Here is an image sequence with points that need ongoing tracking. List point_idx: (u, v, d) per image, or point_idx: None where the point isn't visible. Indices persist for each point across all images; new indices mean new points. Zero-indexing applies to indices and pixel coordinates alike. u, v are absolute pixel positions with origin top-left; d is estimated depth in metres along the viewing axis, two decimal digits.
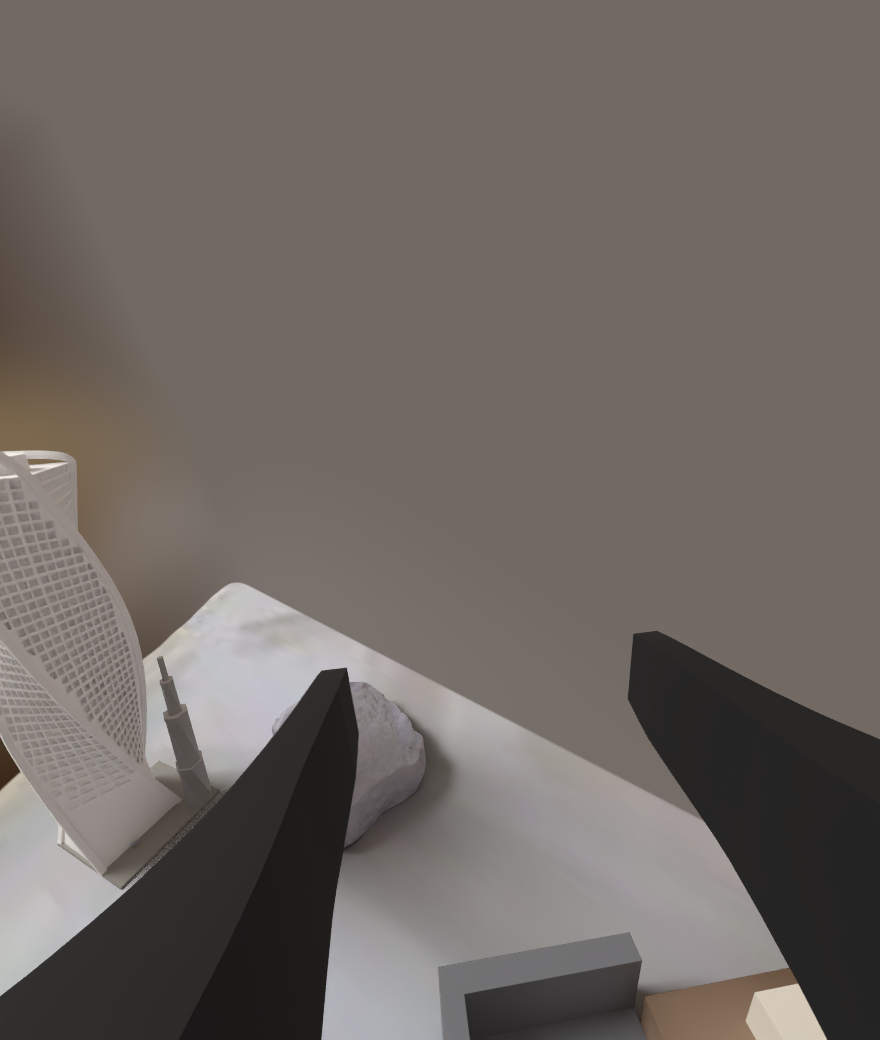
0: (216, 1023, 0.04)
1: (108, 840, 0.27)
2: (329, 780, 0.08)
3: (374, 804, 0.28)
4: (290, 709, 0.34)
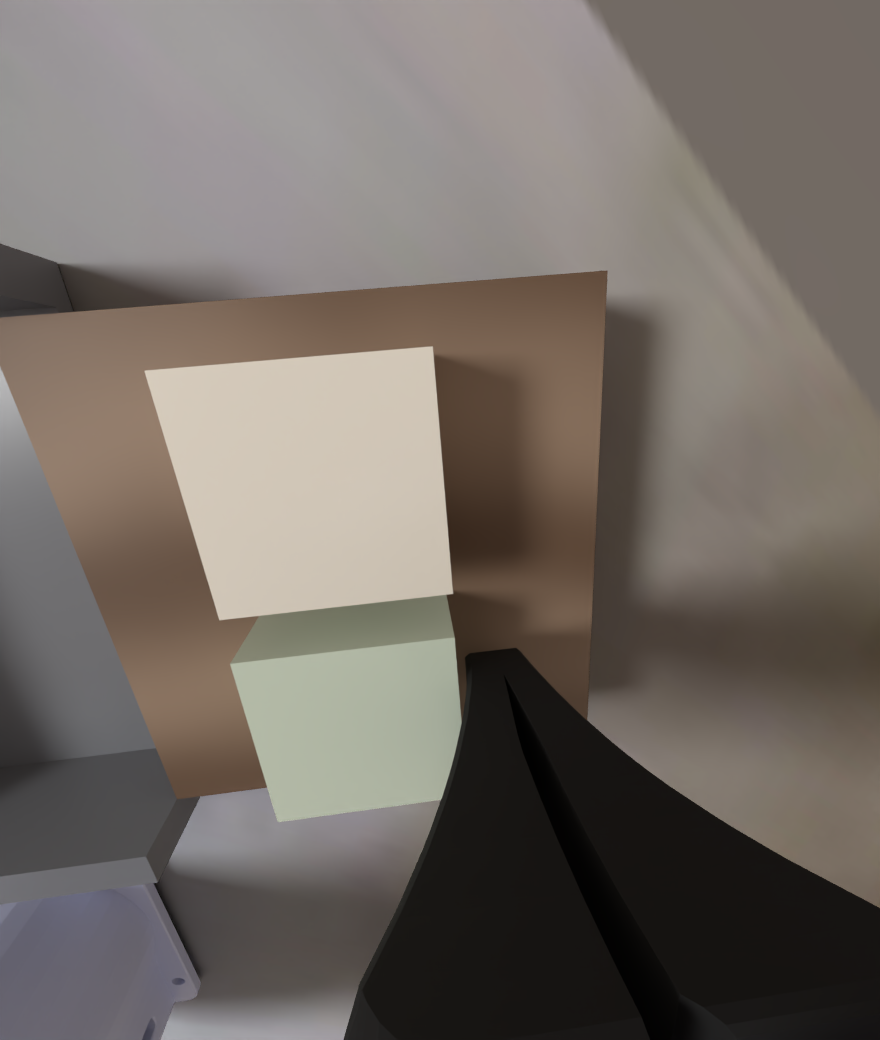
0: None
1: None
2: None
3: None
4: None
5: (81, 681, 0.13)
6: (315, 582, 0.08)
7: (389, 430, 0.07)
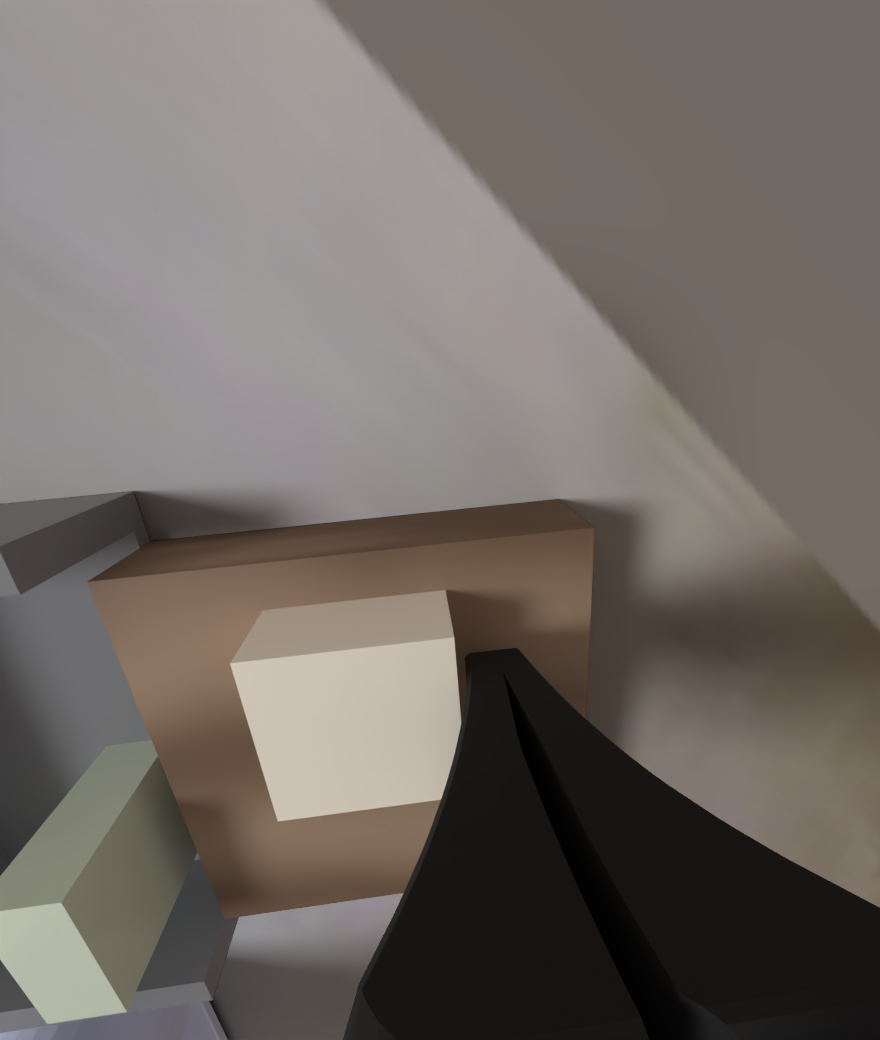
0: None
1: None
2: None
3: None
4: None
5: None
6: (356, 793, 0.10)
7: (418, 691, 0.09)
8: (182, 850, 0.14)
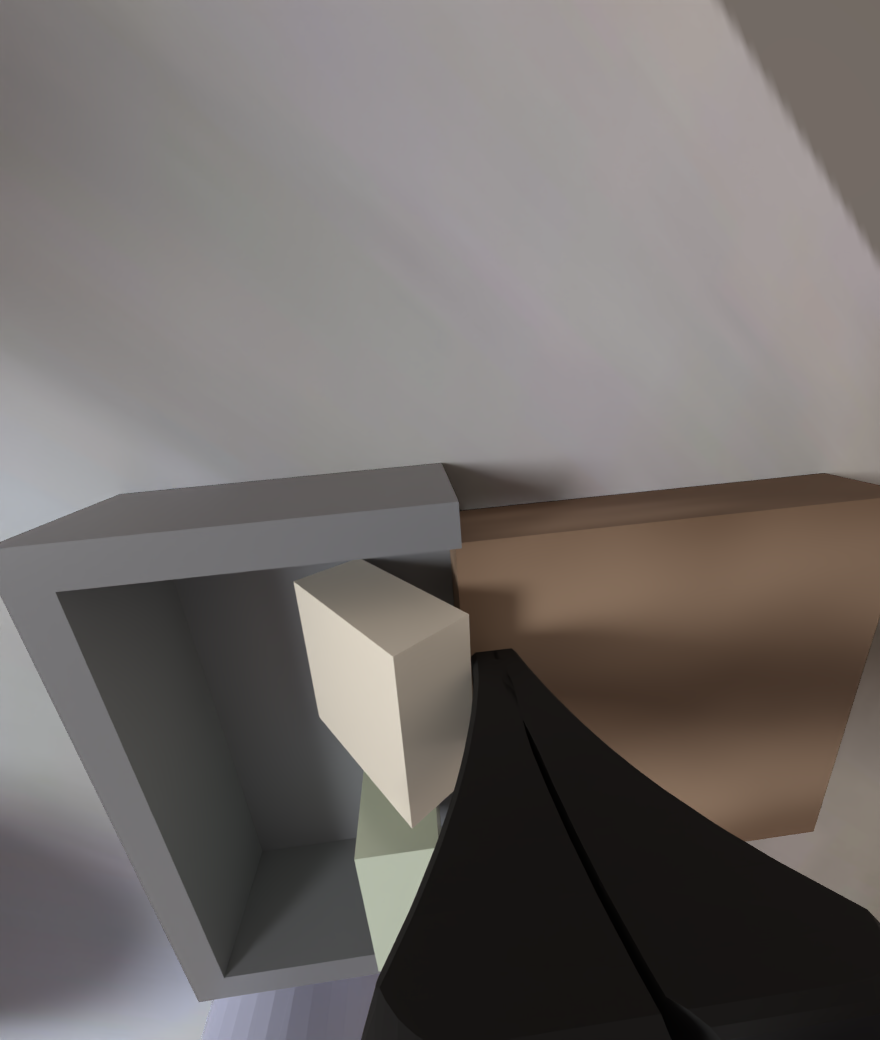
0: None
1: None
2: None
3: None
4: None
5: None
6: (349, 739, 0.11)
7: (374, 689, 0.09)
8: (439, 814, 0.14)
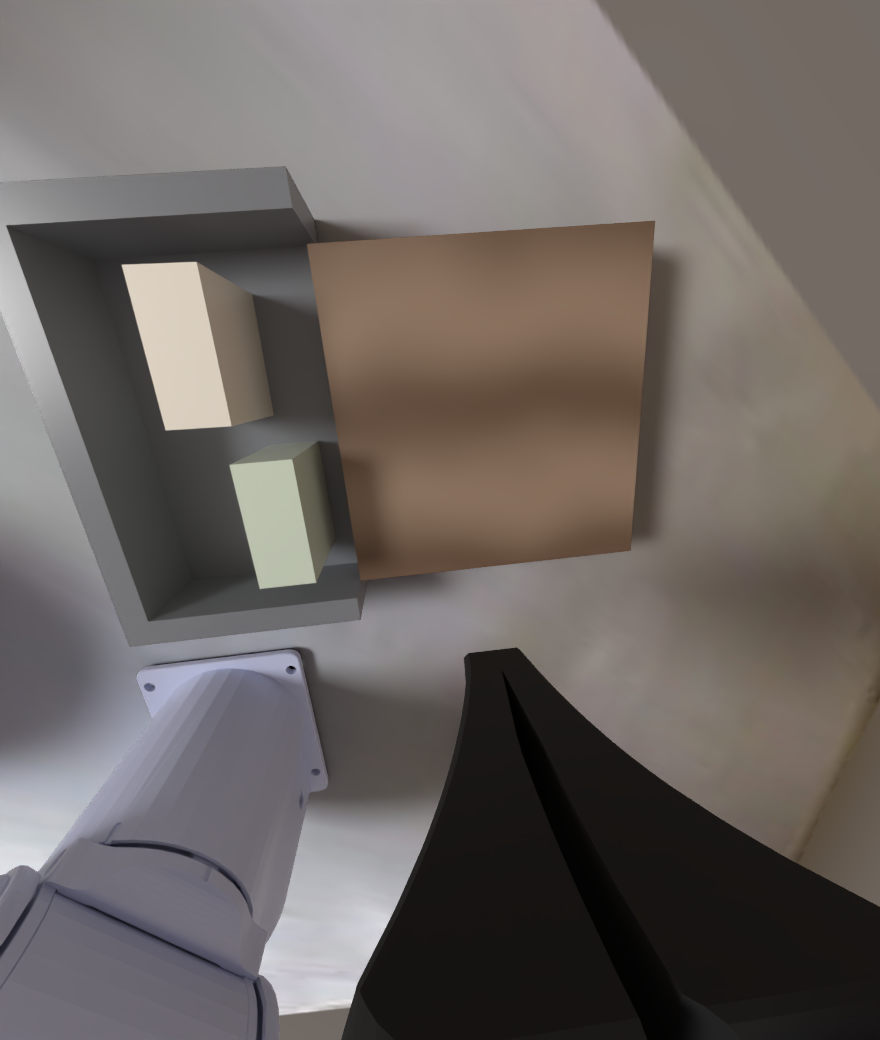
0: None
1: None
2: None
3: None
4: None
5: None
6: None
7: None
8: (327, 528, 0.18)
